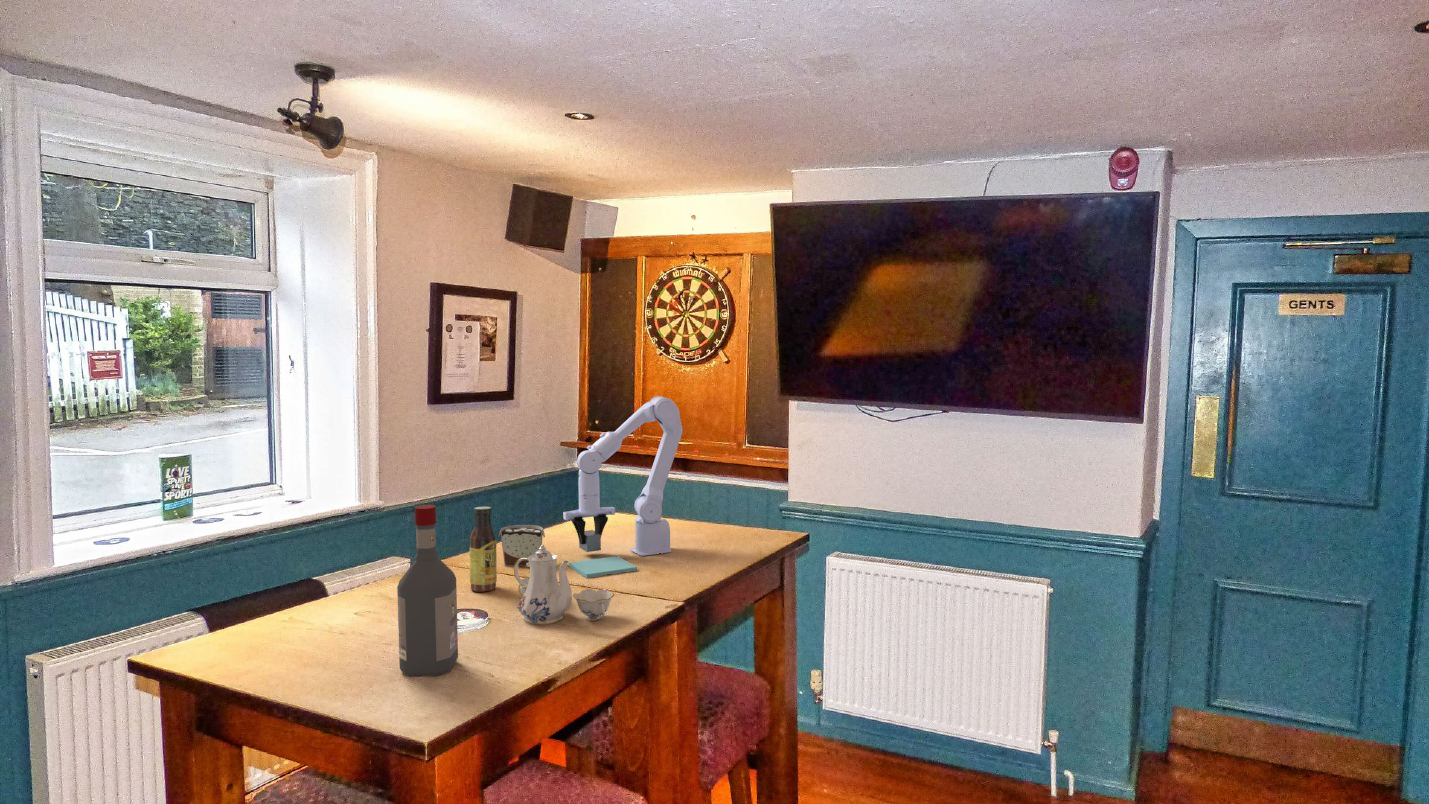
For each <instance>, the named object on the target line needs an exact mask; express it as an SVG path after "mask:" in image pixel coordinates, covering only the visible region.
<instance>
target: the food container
mask: <svg viewBox="0 0 1429 804" xmlns="http://www.w3.org/2000/svg"><path fill="white" fill-rule="evenodd" d="M498 537H499V538H500V539H501V547H502V548H501V549H502V556H503V565H504V567H514V566H515V563H516V562H517V561H518V560H519V559H521V558H528V557H530V556H531V555H534V554H535V553H536V552H537V551H539V550H540V549H539V548H540V547H541V545H543V539H544V538H545V537H546V534H545V530H544V528H543V527H542V526H540V525H533V524H516V525H508V526H504V527H502V528H500V531H499V532H498ZM528 562H529V561H528V560H522V561H521V562H520V563H519V564H518V566H527V565H526V564H527V563H528ZM526 568H529V567H528V566H527V567H526Z"/></svg>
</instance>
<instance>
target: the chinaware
mask: <svg viewBox="0 0 1429 804" xmlns="http://www.w3.org/2000/svg"><path fill="white" fill-rule="evenodd" d="M539 549H540V550H539V551H537V552H536V553H535V554H534V555H531V556H530V557H528V558H521V559H519V560H518V561H517V562H516V563H515V566H513V573H514V574H513V575H514V578H515V580H516V581H517V582H518V583H519V584H518V593H519V594H520V595H521V598H520V600H519V601H518V604H517V607H516V608H517V610H518V612H519V613H520V615H522V616H523V621H524V623H527V624H531V625H549V624H551V625H552V624H554V623H558V622H561V621H562V620H563V619H564V613H565V612H567V610H569V608H570V607H571V606H572V603H573V602H572V600H573V598H574V599H575V601H576V603H577V608H578V609H579V610H580V612H581V613H582V614H583V615H585V616H587V617H586V620H588V621H592V620H594V621H598V620H601V619H604V618H605V615H606V612H607V611H608V609H609V607H610V603H611V601H612V598H614V597H615V593H612V592H611V591H610V590H608V589H606V588H603V589H602V588H601V589H599V590H595V589H591V588H590V589H588V588H585V589H583V590H581V591H580V593H578V592H575V593H574V594H573V593H572V589H571V584H570V582H569V579H568V576H567V570H566V569H567V568H566V567H567V565H568V563H569V560H564V561H562V562H561V563H560V564H559V567H558V577H557V560H558V558H559V556H558V555H557V554H554V553H551V551H549V550H548V549H547V547H546V546H545V545H544V544H542V545H541V547H540V548H539ZM522 560H528V561H529V562H528V563H527V564H526V565H527V566H528V567H527V568H529V577H524V578H522V579H521V578H520V576H519V571H518V570H519V568H518V564H519V563H520V562H521V561H522ZM558 579H559V580H558ZM600 618H601V619H600ZM597 619H598V620H597Z"/></svg>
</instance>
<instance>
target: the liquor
mask: <svg viewBox="0 0 1429 804" xmlns="http://www.w3.org/2000/svg"><path fill="white" fill-rule="evenodd" d="M436 508H437V507H436V505H434V504H422V505H421V504H420V505H416V506H415V507H414V525H416V526H415V527H416V530H415V531H416V534H415V535H416V554H415V556H414V557H415V558H414V561H413V562H412V563H411V565H410V567H408V569H407V570H406V572H405V573H404V574H403V576H401V578H400V579H399V581H398V584H397V587H396V589H397V618H398V619H397V622H398V624H397V625H398V654H399V655H398V656H399V657H398V659H399V670H400V671H401V673H402V674H404V675H405V676H408V677H410V678H411V677H412V678H413V677H437V676H442V675H444V674H448V673H449V672H450V671H451V670H452V669H453V667H454V665H455V664H456V662H457V661H458V659H459V644H458V643H459V642H458V639H459V637H458V602H457V600H458V598H457V597H458V595H457V592H458V591H457V577H456V575H455V572H454V571H453V570H452V569H451V568H449V566H448V565H447V564H445V563H444V561H442V560H441V559H440V558H439V553H438V551H437V542H436V538H437V537H436V536H437V535H436V523H437V511H436V510H437V509H436Z"/></svg>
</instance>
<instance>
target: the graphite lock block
mask: <svg viewBox="0 0 1429 804" xmlns="http://www.w3.org/2000/svg"><path fill="white" fill-rule="evenodd" d="M584 534H585V544H583V545H582V544H580V542H579V541H578V547H579V549H581V550H583V551H585V552H586V553H592V552H597V551H598V552H599V551H601V550H602V545H601V544H602V542H601V540H602V539H601V538H602V536H601V534H599V533H597V532H595V530H594V529H591V530H585V532H584Z"/></svg>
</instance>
